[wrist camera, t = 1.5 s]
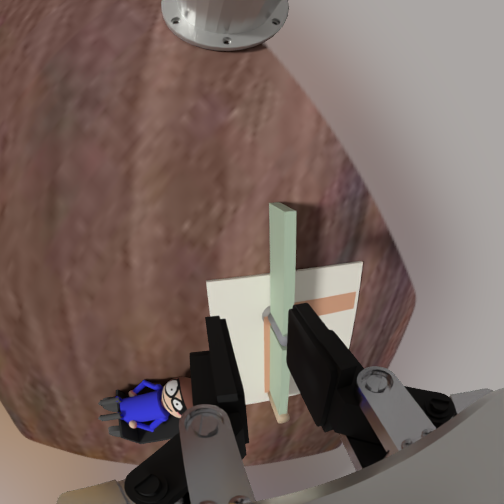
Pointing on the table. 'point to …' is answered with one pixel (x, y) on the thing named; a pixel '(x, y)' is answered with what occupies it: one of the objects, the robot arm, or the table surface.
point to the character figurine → (149, 411)
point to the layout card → (258, 308)
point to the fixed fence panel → (278, 378)
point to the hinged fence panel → (282, 267)
